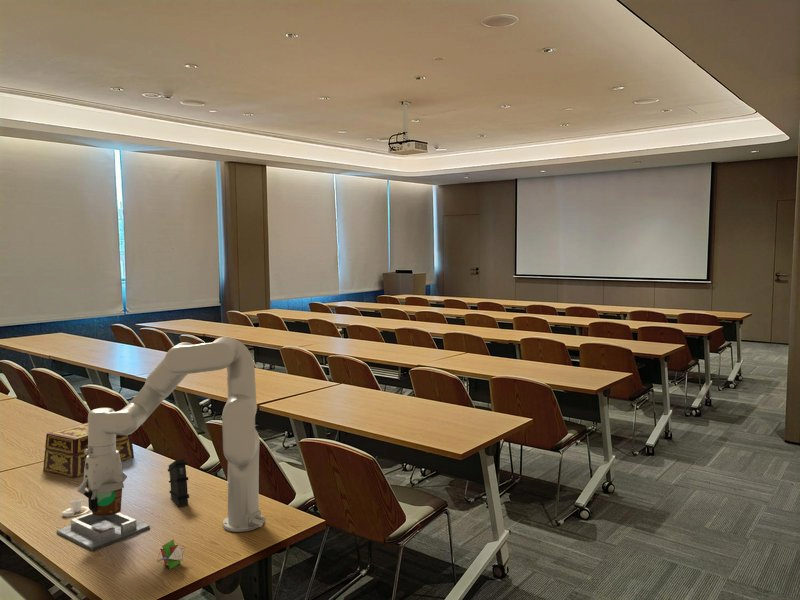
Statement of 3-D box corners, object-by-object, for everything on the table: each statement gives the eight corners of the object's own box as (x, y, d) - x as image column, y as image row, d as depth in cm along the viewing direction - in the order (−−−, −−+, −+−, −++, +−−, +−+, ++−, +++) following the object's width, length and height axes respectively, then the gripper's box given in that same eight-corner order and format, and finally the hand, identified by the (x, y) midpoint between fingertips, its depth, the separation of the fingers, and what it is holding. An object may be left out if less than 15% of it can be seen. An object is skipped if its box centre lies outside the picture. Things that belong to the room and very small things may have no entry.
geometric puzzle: (147, 560, 162) (160, 540, 160) (165, 548, 168) (178, 530, 166) (164, 579, 160) (178, 560, 158) (181, 567, 167) (195, 548, 164)
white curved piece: (64, 520, 192) (64, 508, 191) (56, 513, 197) (56, 501, 197) (93, 512, 198) (93, 500, 198) (85, 505, 203) (84, 493, 203)
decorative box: (104, 451, 260) (103, 417, 259) (134, 458, 252) (133, 423, 251) (42, 471, 235) (41, 433, 234) (74, 479, 227) (73, 440, 226)
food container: (77, 512, 182) (77, 481, 181) (95, 504, 188) (94, 474, 187) (107, 520, 178) (107, 488, 177) (124, 512, 183) (123, 481, 182)
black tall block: (180, 506, 199) (174, 460, 203) (171, 510, 209) (166, 466, 213) (191, 503, 201) (185, 458, 205) (182, 507, 211) (176, 464, 216)
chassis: (149, 528, 186) (149, 517, 185) (92, 551, 171) (92, 539, 170) (113, 513, 197) (113, 502, 196) (56, 533, 182) (56, 522, 181)
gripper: (80, 459, 173) (82, 520, 174) (135, 444, 187) (136, 501, 188) (67, 454, 177) (68, 513, 178) (121, 440, 191) (122, 495, 192)
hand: (103, 506), depth 183 cm, fingers closed on food container, 5 cm apart
